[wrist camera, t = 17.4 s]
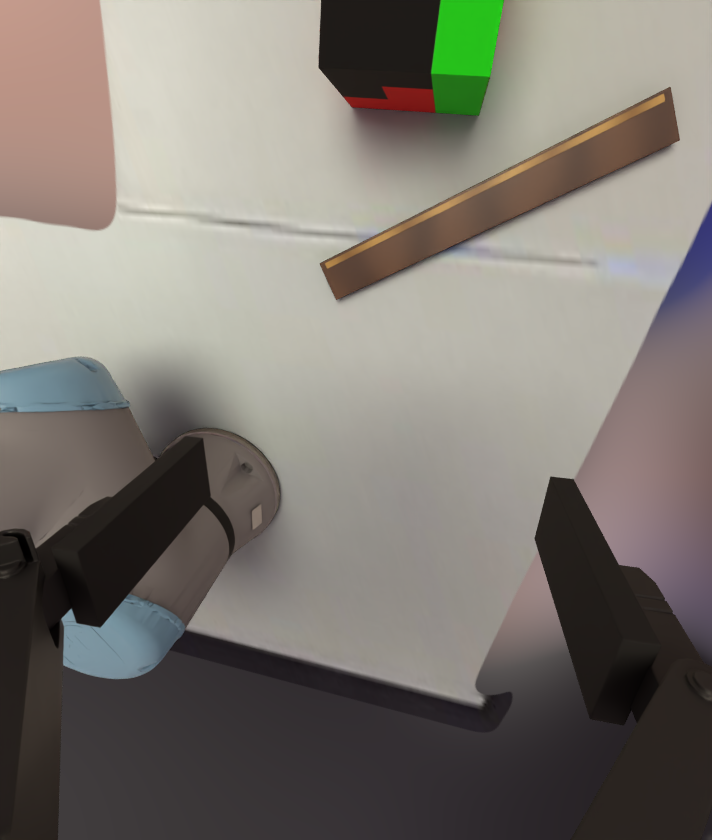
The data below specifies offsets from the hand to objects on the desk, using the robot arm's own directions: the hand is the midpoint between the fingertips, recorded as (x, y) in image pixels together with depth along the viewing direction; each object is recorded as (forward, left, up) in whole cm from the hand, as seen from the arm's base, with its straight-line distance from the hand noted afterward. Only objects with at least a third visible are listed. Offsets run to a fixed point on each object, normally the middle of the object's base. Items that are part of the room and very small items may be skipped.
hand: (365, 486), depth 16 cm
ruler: (+4, +10, -27) cm, 29 cm away
